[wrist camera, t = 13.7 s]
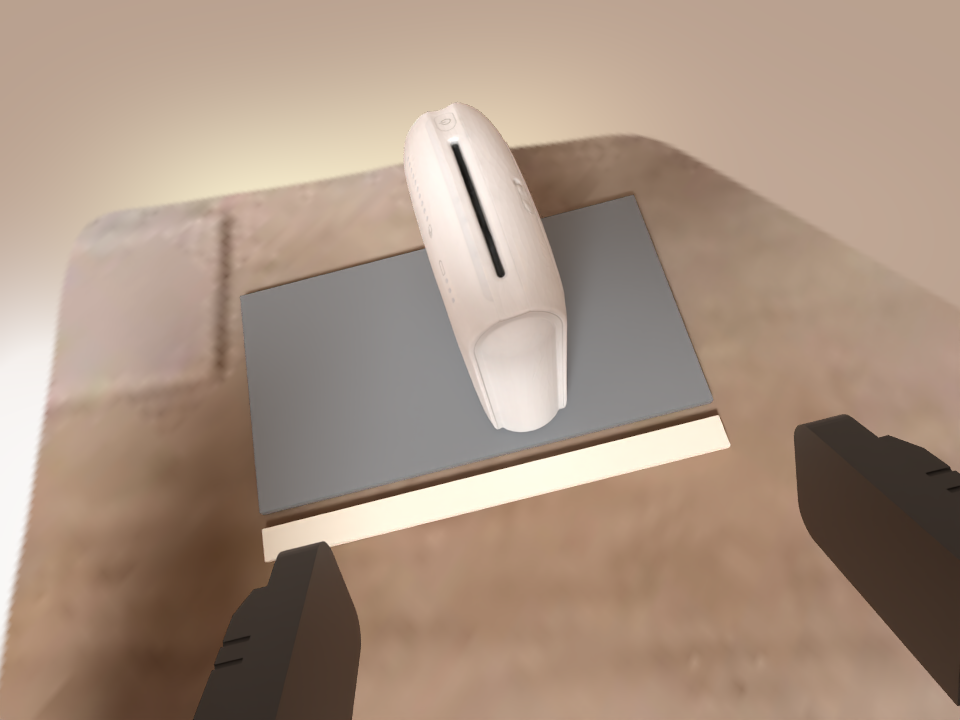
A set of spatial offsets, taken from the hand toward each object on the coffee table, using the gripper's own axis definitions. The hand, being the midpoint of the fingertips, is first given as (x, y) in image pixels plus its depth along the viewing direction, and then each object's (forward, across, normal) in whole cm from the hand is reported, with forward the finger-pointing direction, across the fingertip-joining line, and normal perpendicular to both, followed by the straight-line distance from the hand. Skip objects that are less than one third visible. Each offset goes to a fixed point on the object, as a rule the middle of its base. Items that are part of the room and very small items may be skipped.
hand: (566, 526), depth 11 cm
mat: (+22, +2, +6) cm, 23 cm away
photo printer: (+22, 0, +5) cm, 23 cm away
